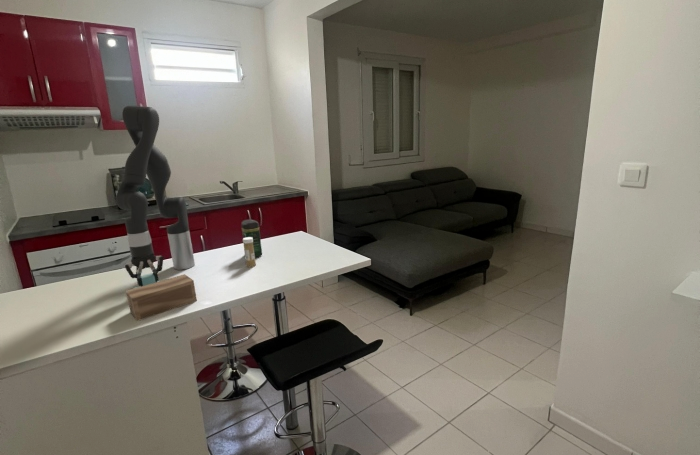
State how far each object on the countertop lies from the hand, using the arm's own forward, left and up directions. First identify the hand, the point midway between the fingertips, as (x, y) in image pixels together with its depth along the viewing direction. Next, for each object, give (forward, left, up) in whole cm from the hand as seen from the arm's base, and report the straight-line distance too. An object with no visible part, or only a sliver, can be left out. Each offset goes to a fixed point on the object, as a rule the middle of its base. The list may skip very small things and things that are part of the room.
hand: (148, 284), depth 141 cm
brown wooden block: (+17, 0, -4) cm, 18 cm away
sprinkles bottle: (+4, +42, -4) cm, 43 cm away
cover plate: (+5, 0, -2) cm, 6 cm away
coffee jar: (-8, +50, -4) cm, 51 cm away
